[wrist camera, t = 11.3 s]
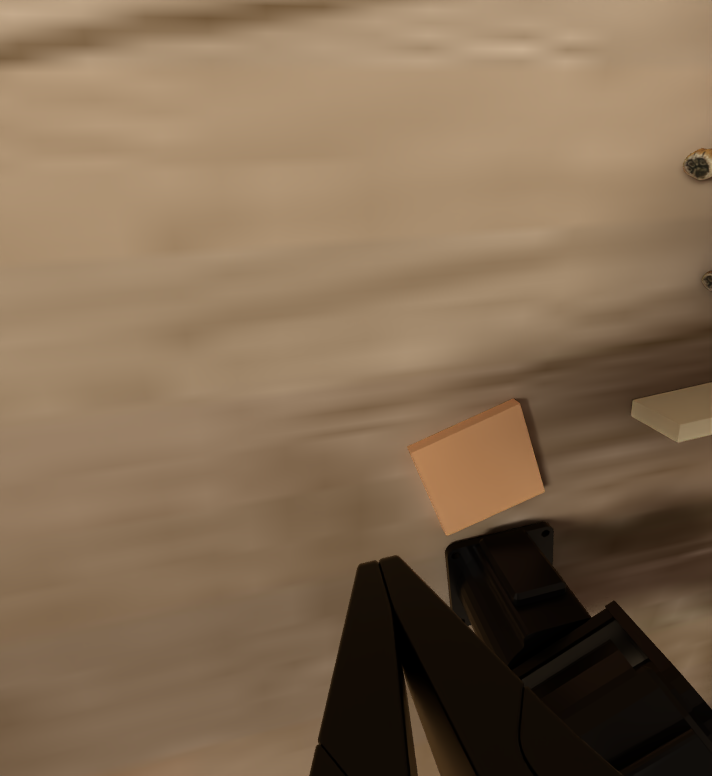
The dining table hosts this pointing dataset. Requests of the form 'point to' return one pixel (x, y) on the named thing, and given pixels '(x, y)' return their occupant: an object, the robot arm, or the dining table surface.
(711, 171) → the lion figurine
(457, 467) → the terracotta tile
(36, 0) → the dining table surface
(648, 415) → the frame
